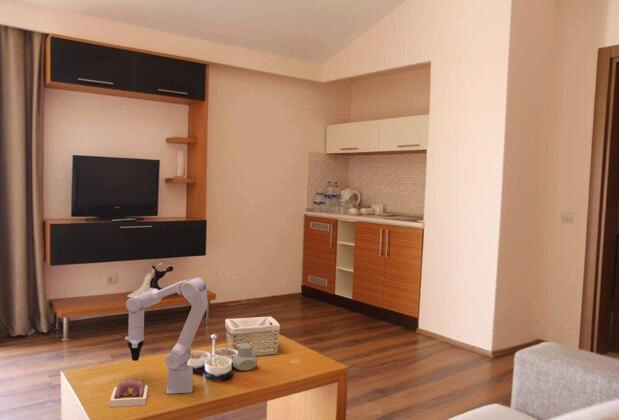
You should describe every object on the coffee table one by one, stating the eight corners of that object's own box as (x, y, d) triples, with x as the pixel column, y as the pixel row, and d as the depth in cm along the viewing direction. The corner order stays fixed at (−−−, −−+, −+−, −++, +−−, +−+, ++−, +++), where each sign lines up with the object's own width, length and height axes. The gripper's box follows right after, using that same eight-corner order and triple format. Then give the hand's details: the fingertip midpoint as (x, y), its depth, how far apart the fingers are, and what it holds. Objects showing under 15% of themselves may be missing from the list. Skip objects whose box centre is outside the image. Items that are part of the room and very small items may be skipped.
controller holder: (147, 391, 200) (147, 385, 199) (145, 404, 188) (145, 398, 188) (114, 393, 197) (114, 386, 197) (110, 407, 185) (110, 400, 185)
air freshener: (234, 373, 221) (235, 350, 221) (229, 366, 229) (230, 344, 228) (259, 370, 226) (260, 347, 225) (253, 363, 233) (254, 341, 233)
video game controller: (144, 399, 196) (145, 380, 199) (142, 398, 192) (144, 378, 194) (116, 400, 194) (118, 380, 197) (114, 399, 190) (116, 379, 193)
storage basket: (229, 359, 237) (230, 327, 236) (223, 348, 253) (224, 318, 252) (280, 355, 245) (281, 324, 245) (271, 344, 261) (272, 315, 260)
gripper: (126, 321, 211) (126, 354, 212) (123, 332, 197) (123, 367, 198) (145, 320, 213) (144, 353, 213) (143, 331, 199) (142, 366, 199)
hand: (135, 360), depth 206 cm, fingers closed
